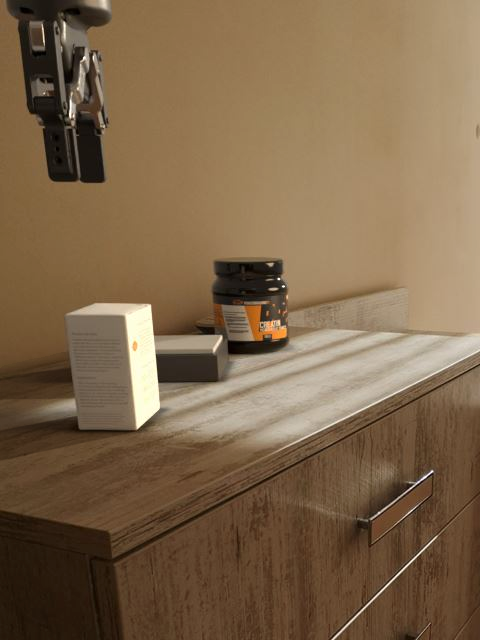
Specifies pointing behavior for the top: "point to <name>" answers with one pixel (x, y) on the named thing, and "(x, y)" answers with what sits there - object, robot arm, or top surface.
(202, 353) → the scale
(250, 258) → the supplement container
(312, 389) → the top surface
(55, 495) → the top surface
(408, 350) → the top surface
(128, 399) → the small box
